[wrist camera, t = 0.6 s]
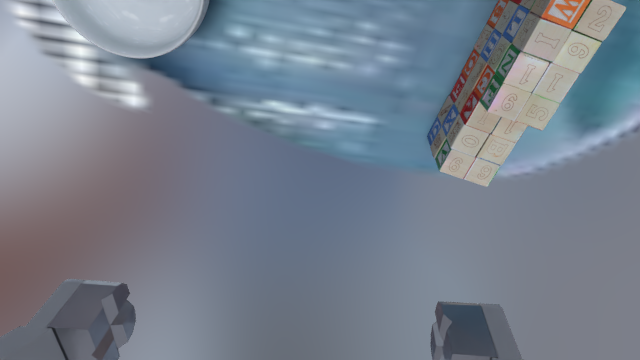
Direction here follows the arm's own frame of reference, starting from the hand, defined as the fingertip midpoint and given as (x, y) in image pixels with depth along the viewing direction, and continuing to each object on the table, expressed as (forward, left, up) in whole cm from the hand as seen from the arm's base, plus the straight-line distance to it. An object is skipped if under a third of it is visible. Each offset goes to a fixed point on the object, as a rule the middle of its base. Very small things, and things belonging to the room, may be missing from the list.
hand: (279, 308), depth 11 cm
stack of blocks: (+2, +19, -45) cm, 49 cm away
